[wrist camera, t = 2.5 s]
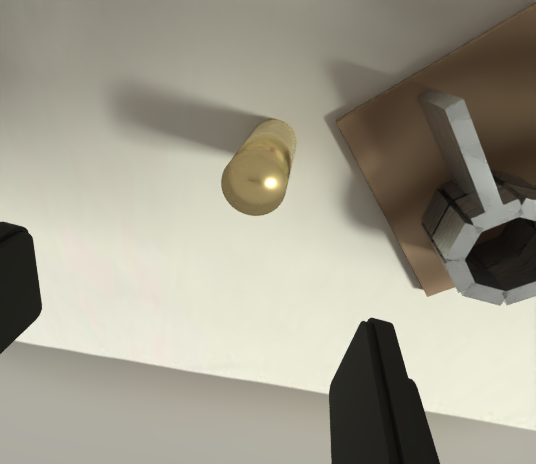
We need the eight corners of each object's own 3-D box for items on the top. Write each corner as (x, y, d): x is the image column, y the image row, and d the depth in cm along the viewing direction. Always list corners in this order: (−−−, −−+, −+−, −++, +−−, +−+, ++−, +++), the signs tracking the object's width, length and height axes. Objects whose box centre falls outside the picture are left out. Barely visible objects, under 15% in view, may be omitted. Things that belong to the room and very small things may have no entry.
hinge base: (660, 204, 26) (672, 209, 25) (424, 290, 32) (427, 296, 31) (617, -45, 20) (631, -50, 19) (335, 120, 26) (336, 122, 25)
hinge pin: (304, 150, 27) (298, 197, 19) (267, 171, 29) (244, 225, 20) (281, 110, 26) (263, 140, 18) (243, 134, 28) (208, 174, 19)
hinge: (648, 192, 25) (737, 231, 19) (443, 269, 30) (470, 317, 25) (609, -14, 20) (714, -36, 15) (371, 121, 25) (386, 140, 20)
